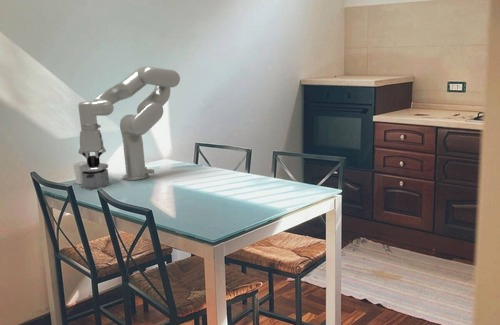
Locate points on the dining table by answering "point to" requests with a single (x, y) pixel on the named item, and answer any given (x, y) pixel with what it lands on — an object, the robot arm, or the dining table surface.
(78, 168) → the white cup
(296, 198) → the dining table surface
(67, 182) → the dining table surface
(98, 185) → the pot
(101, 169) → the lid
